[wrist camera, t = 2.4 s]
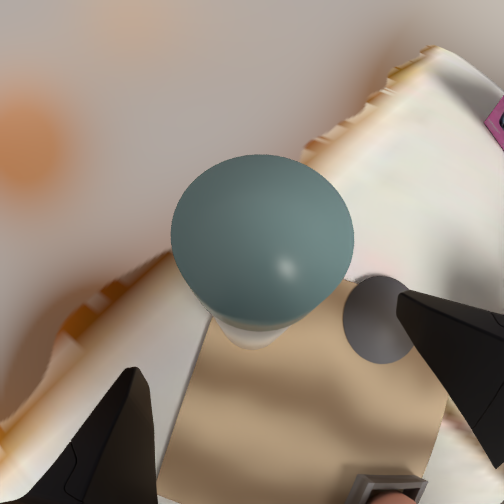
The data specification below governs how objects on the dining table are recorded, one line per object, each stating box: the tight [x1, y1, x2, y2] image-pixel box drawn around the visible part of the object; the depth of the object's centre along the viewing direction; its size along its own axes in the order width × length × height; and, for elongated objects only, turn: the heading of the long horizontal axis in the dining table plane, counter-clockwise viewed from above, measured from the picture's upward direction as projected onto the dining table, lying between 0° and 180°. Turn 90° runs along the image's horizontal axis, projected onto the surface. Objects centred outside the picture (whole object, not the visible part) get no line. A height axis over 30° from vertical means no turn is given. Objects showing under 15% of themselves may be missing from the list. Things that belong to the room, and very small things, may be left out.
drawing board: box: [156, 276, 448, 504], centre depth 15 cm, size 20×19×2 cm
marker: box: [171, 155, 354, 350], centre depth 12 cm, size 4×4×13 cm
